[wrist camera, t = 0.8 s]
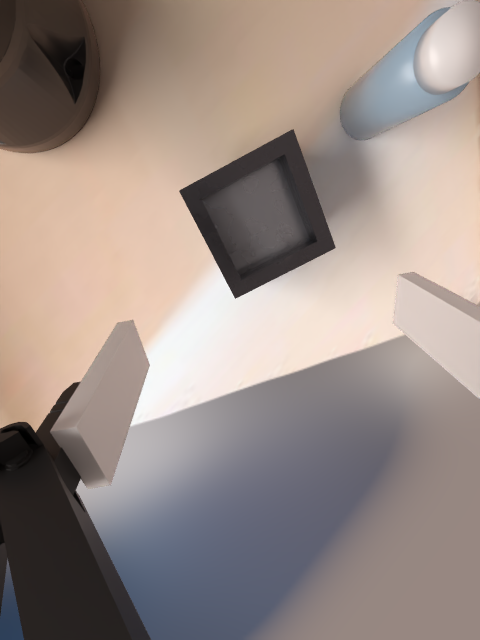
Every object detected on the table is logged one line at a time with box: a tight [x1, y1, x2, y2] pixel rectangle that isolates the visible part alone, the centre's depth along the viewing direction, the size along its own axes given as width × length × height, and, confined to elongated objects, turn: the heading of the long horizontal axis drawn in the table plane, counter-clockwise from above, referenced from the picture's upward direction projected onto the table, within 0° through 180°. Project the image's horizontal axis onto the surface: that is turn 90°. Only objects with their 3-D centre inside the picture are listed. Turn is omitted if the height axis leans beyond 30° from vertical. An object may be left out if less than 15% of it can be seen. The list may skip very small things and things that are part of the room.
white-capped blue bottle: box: [340, 0, 480, 140], centre depth 23 cm, size 5×5×12 cm
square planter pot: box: [179, 130, 336, 299], centre depth 27 cm, size 9×9×8 cm
